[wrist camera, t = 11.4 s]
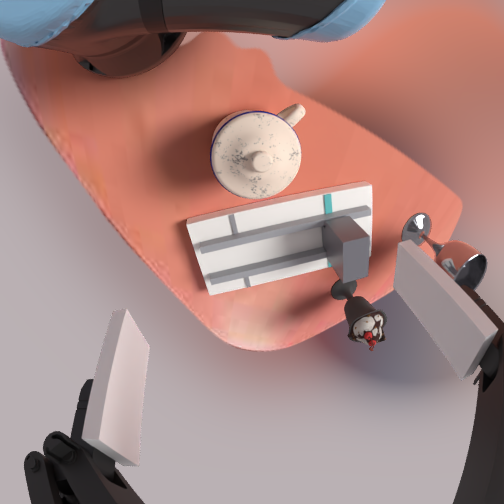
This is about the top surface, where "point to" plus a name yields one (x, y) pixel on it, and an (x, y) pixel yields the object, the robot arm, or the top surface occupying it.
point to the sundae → (360, 315)
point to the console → (274, 236)
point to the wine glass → (448, 253)
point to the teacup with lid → (257, 151)
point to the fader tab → (346, 248)
